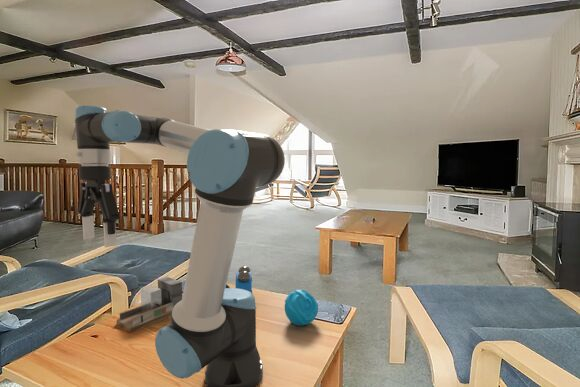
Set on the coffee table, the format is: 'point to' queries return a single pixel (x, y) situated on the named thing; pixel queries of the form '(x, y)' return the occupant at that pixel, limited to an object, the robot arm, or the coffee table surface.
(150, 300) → the carriage
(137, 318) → the frame
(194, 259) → the robot arm
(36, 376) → the coffee table surface
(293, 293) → the blue round piece
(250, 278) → the alarm clock
